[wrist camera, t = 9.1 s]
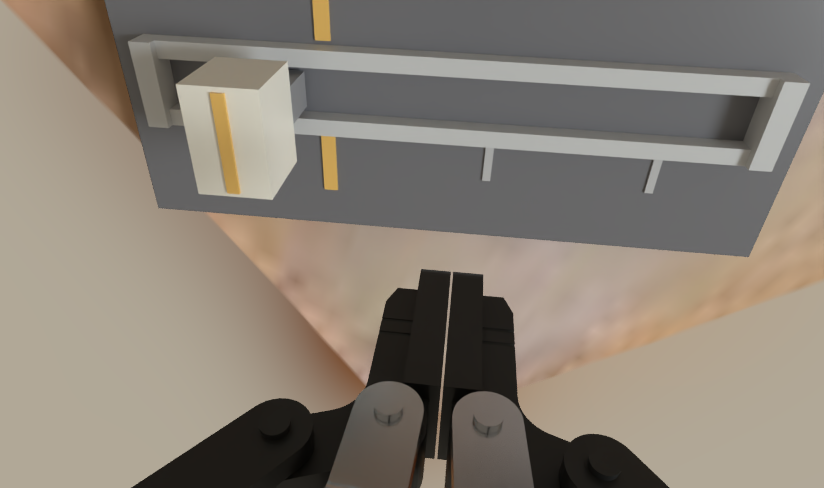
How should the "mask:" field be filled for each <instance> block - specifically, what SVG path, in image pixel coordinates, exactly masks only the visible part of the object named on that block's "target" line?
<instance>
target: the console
mask: <svg viewBox="0 0 824 488" xmlns="http://www.w3.org/2000/svg"><path fill="white" fill-rule="evenodd" d="M105 4H106V8H107V12H108V16H109V20H110V23H111V27H112V31H113V35H114V39H115V43H116V47H117V50H118V54H119V58H120V62H121V66H122V70H123V73H124V77H125V81H126V85H127V89H128V93H129V96H130V100H131V104H132V108H133V112H134V116H135V120H136V123H137V127H138V131H139V135H140V139H141V143H142V146H143V150H144V154H145V158H146V161H147V166H148V169H149V173H150V177H151V181H152V185H153V189H154V192H155V196H156V200H157V204H158V207H159V208H166V209H177V210H189V211H201V212H213V213H225V214H237V215H249V216H261V217H273V218H285V219H297V220H309V221H322V222H334V223H346V224H358V225H370V226H382V227H394V228H406V229H418V230H430V231H442V232H454V233H466V234H478V235H490V236H502V237H514V238H526V239H538V240H550V241H562V242H575V243H587V244H599V245H611V246H623V247H635V248H647V249H659V250H671V251H683V252H695V253H707V254H719V255H731V256H743V257H749V255H750V253H751V251H752V249H753V246H754V244H755V242H756V240H757V238H758V235H759V233H760V231H761V229H762V227H763V224H764V222H765V220H766V218H767V216H768V213H769V211H770V209H771V207H772V205H773V202H774V200H775V198H776V196H777V194H778V191H779V189H780V187H781V185H782V182H783V180H784V178H785V176H786V174H787V171H788V169H789V167H790V165H791V163H792V160H793V158H794V156H795V154H796V152H797V149H798V147H799V145H800V143H801V141H802V138H803V136H804V134H805V132H806V130H807V127H808V125H809V123H810V121H811V119H812V116H813V114H814V112H815V110H816V108H817V105H818V103H819V101H820V99H821V97H822V94H823V92H824V0H105ZM214 57H227V58H243V59H259V60H275V61H288V70H300V71H304V75H305V88H306V101H307V107H306V108H305V110H304V111H303V112H302V114H301V115H300V116H299V118H298V119H297V120H296V122H295V123H294V134H295V145H296V156H297V162H296V164H295V165H294V167H293V168H292V170H291V172H290V173H289V175H288V176H287V178H286V179H285V181H284V183H283V184H282V186H281V187H280V189H279V190H278V192H277V194H276V195H275V197H274V198H273V200H268V199H255V198H243V197H231V196H218V195H206V194H199V193H198V189H197V184H196V179H195V174H194V170H193V165H192V160H191V155H190V151H189V146H188V141H187V136H186V132H185V127H184V122H183V117H182V113H181V108H180V103H179V98H178V93H177V89H176V84H177V83H178V82H180V81H181V80H182V79H184V78H185V77H187V76H188V75H190V74H191V73H192V72H194V71H195V70H197V69H198V68H200V67H201V66H203V65H204V64H205V63H207V62H208V61H210V60H211V59H213V58H214Z"/></svg>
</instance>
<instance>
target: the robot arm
mask: <svg viewBox="0 0 824 488" xmlns="http://www.w3.org/2000/svg"><path fill="white" fill-rule="evenodd" d="M450 275H451V272H447V271H436V270H425V269H421V274H420V280H419V286H418V290H414V289H403V288H397V290H396V291H395V292H394V293H393V294H392V295H391V296H390V298H389V299H388V300H387V301H386V304H385V308H384V313H383V317H382V322H381V326H380V330H379V335H378V339H377V343H376V348H375V352H374V356H373V361H372V365H371V370H370V374H369V378H368V382H367V385H366V387H365V389H364V390H363V391H362V392H361V393H360V394H359V395H358V397H357V398H356V400H354V401H353V402H351V403H350V404H348V405H346V406H344V407H341V408H338V409H335V410H330V411H324V412H318V413H312V414H310V412H309V410H308V409H307V408H306V407H305V406H304V405H302V404H301V403H299V402H297V401H294V400H291V399H281V398H279V399H272V400H269V401H265V402H263V403H261V404H259V405H257V406H255V407H254V408H252V409H251V410H249V411H248V412H246V413H245V414H243V415H242V416H240V417H239V418H237V419H236V420H234V421H232V422H231V423H229V424H228V425H226V426H225V427H223V428H222V429H220V430H219V431H217V432H216V433H214V434H213V435H211V436H210V437H208V438H207V439H205V440H203V441H202V442H200V443H199V444H197V445H196V446H194V447H193V448H191V449H190V450H188V451H187V452H185V453H184V454H182V455H181V456H179V457H178V458H176V459H174V460H173V461H171V462H170V463H168V464H167V465H165V466H164V467H162V468H161V469H159V470H158V471H156V472H155V473H153V474H152V475H150V476H148V477H147V478H145V479H144V480H143V481H141V482H139V483H138V484H136V485H135V486H133V487H132V488H420V486H421V484H422V479H423V472H424V462H425V458H432V459H434V456H435V445H436V434H437V422H438V411H439V400H440V389H441V378H442V367H443V356H444V344H445V333H446V322H447V310H448V298H449V287H450ZM514 344H515V342H514V323H513V312H512V311H511V309H510V308H509V306H508V304H507V303H506V301H505V300H504V298H501V297H491V296H483V275H482V274H471V273H460V272H453V282H452V294H451V305H450V316H449V328H448V339H447V351H446V363H445V375H444V386H443V398H442V410H441V422H440V434H439V446H438V459H443V460H447V464H446V477H445V488H669V487H668V486H667V485H666V484H665V483H664V482H663V481H662V480H661V479H660V478H659V477H658V476H657V475H655V474H654V473H653V472H652V471H651V470H650V469H649V468H648V467H647V466H646V465H645V464H644V463H643V462H642V461H641V460H640V459H639V458H638V457H637V456H636V455H635V454H633V453H632V452H631V451H630V450H629V449H628V448H627V447H626V446H624V445H623V444H622V443H620V442H618V441H617V440H615V439H613V438H610V437H607V436H603V435H599V434H586V435H582V436H579V437H577V438H575V439H574V440H572V441H571V442H568V441H566V440H563V439H561V438H558V437H556V436H553V435H551V434H548V433H546V432H544V431H542V430H541V429H539V428H537V427H536V426H535V425H534V424H532V423H531V422H530V421H529V420H528V419H527V418H526V416H525V415H524V414H523V412H522V410H521V408H520V406H519V403H518V397H517V379H516V360H515V347H514Z"/></svg>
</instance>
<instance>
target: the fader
mask: <svg viewBox="0 0 824 488" xmlns="http://www.w3.org/2000/svg"><path fill="white" fill-rule="evenodd" d="M176 89H177V93H178V98H179V103H180V108H181V113H182V117H183V122H184V127H185V132H186V136H187V141H188V146H189V151H190V155H191V160H192V165H193V170H194V174H195V179H196V184H197V189H198V193H199V194H206V195H218V196H231V197H243V198H255V199H268V200H273V198H274V197H275V195H276V194H277V192H278V190H279V189H280V187H281V186H282V184H283V183H284V181H285V179H286V178H287V176H288V175H289V173H290V172H291V170H292V168H293V167H294V165H295V164H296V162H297V156H296V145H295V134H294V123H295V122H296V120H297V119H298V118H299V116H300V115H301V114H302V112H303V111H304V110H305V108H306V107H307V101H306V88H305V75H304V71H300V70H288V61H275V60H259V59H243V58H227V57H214V58H213V59H211V60H210V61H208V62H207V63H205V64H204V65H203V66H201V67H200V68H198V69H197V70H195V71H194V72H192V73H191V74H190V75H188V76H187V77H185V78H184V79H182V80H181V81H180V82H178V83H177V84H176Z"/></svg>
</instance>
